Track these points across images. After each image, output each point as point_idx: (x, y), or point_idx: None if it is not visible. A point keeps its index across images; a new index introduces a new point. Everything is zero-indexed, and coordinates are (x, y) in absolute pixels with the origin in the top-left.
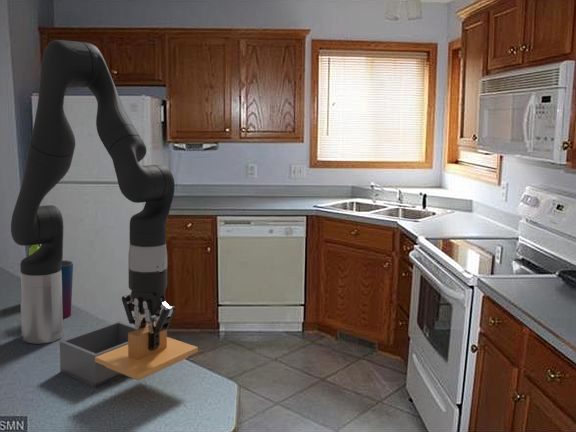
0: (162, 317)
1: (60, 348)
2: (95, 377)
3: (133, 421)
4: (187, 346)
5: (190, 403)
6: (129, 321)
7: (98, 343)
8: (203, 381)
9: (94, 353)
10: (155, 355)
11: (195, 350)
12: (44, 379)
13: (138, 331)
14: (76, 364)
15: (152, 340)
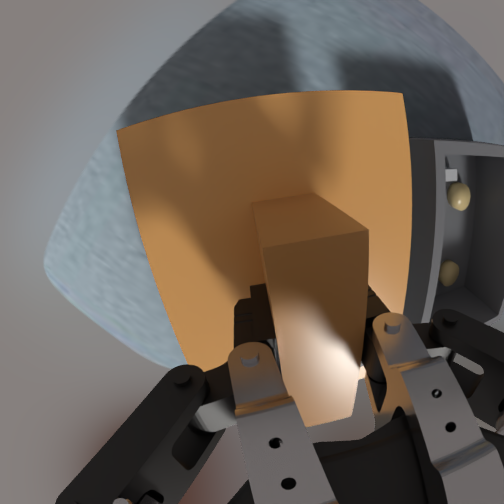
0: (102, 472)
1: None
2: None
3: (150, 115)
4: None
5: (142, 268)
6: (453, 314)
7: (490, 246)
8: None
9: (448, 151)
10: (239, 289)
11: None
12: (464, 98)
13: (335, 302)
14: (460, 140)
15: (249, 323)
